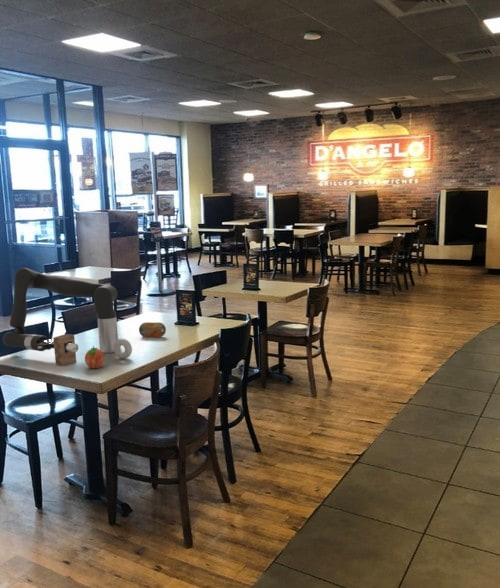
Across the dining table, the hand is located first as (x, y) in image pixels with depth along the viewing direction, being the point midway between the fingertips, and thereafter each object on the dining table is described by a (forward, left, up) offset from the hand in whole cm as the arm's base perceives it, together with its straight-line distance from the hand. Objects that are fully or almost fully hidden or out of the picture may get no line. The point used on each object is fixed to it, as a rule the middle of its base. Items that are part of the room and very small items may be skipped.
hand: (61, 346), depth 274 cm
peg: (-3, +3, -2) cm, 5 cm away
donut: (-28, +4, -8) cm, 29 cm away
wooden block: (-2, +2, -8) cm, 8 cm away
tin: (-46, -36, -8) cm, 59 cm away
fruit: (-15, +15, -8) cm, 22 cm away
